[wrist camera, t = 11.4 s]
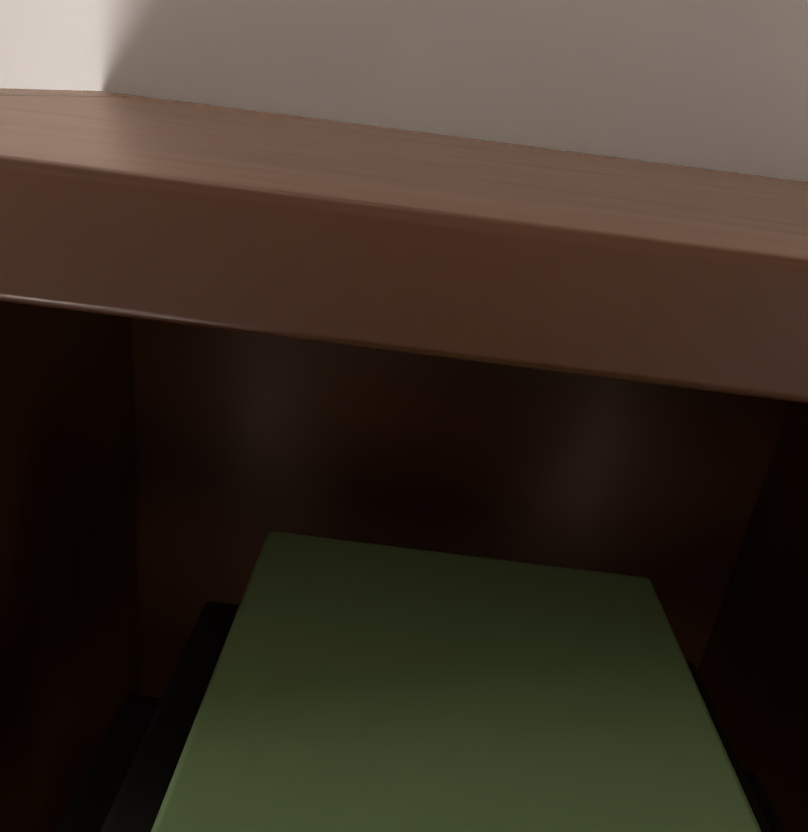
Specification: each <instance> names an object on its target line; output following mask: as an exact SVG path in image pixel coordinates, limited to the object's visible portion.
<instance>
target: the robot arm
mask: <svg viewBox="0 0 808 832" xmlns="http://www.w3.org/2000/svg"><path fill="white" fill-rule="evenodd" d="M238 608H239V605H237V604H229V603H221V602H212V601H208V602H206V604H205V605H204V607H203V609H202V611H201V614H200V616H199V618H198V620H197V622H196V624H195V627H194V629H193V631H192V633H191V635H190V637H189V640H188V642H187V644H186V646H185V648H184V650H183V653H182V655H181V657H180V659H179V661H178V664H177V666H176V668H175V670H174V672H173V674H172V677H171V679H170V681H169V683H168V685H167V687H166V690H165V692H164V694H163V696H162V698H159V697H151V696H143V695H134V694H130V695H129V696H127V697H126V698H125V699H124V701H123V703H122V704H121V706H120V707H119V709H118V711H117V713H116V715H115V717H114V719H113V721H112V722H111V724H110V726H109V728H108V730H107V732H106V734H105V736H104V738H103V740H102V742H101V744H100V745H99V747H98V749H97V751H96V753H95V755H94V757H93V759H92V761H91V763H90V765H89V766H88V768H87V770H86V772H85V774H84V776H83V778H82V780H81V782H80V784H79V786H78V788H77V789H76V791H75V793H74V795H73V797H72V799H71V801H70V803H69V805H68V807H67V809H66V811H65V812H64V814H63V816H62V818H61V820H60V822H59V824H58V826H57V828H56V830H55V832H151V830H152V828H153V825H154V823H155V820H156V818H157V815H158V813H159V810H160V807H161V805H162V802H163V800H164V797H165V795H166V792H167V790H168V787H169V784H170V782H171V779H172V777H173V774H174V772H175V769H176V766H177V764H178V761H179V759H180V756H181V754H182V751H183V749H184V746H185V743H186V741H187V738H188V736H189V733H190V731H191V728H192V726H193V723H194V720H195V718H196V715H197V713H198V710H199V708H200V705H201V703H202V700H203V697H204V695H205V692H206V690H207V687H208V685H209V682H210V679H211V677H212V674H213V672H214V669H215V667H216V664H217V662H218V659H219V656H220V654H221V651H222V649H223V646H224V644H225V641H226V639H227V636H228V633H229V631H230V628H231V626H232V623H233V621H234V618H235V616H236V613H237V610H238ZM686 662H687V665H688V667H689V669H690V671H691V674H692V676H693V678H694V680H695V683H696V685H697V687H698V689H699V692H700V694H701V696H702V698H703V701H704V703H705V705H706V708H707V710H708V712H709V714H710V717H711V719H712V721H713V723H714V726H715V728H716V730H717V732H718V735H719V737H720V739H721V741H722V744H723V746H724V748H725V750H726V753H727V755H728V757H729V759H730V762H731V764H732V766H733V768H734V771H735V773H736V775H737V777H738V780H739V782H740V784H741V786H742V789H743V791H744V793H745V795H746V798H747V800H748V802H749V804H750V807H751V809H752V811H753V814H754V816H755V818H756V820H757V823H758V825H759V827H760V829H761V832H784V829H783V827H782V825H781V823H780V821H779V819H778V817H777V815H776V813H775V810H774V808H773V806H772V804H771V802H770V800H769V798H768V796H767V794H766V791H765V789H764V787H763V785H762V784H761V782H760V781H759V779H758V777H757V776H756V775H755V774H754V773H753V772H751V771H750V770H748V769H742V767H741V765H740V763H739V761H738V758H737V756H736V754H735V752H734V750H733V747H732V745H731V743H730V741H729V739H728V736H727V734H726V732H725V730H724V728H723V725H722V723H721V721H720V719H719V717H718V714H717V712H716V710H715V708H714V706H713V703H712V701H711V699H710V697H709V695H708V692H707V690H706V688H705V686H704V684H703V681H702V679H701V677H700V675H699V673H698V670H697V668H696V667H695V665H694V663H693V662H691V661H690V660H686Z"/></svg>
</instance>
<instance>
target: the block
mask: <svg viewBox="0 0 808 832" xmlns="http://www.w3.org/2000/svg"><path fill="white" fill-rule="evenodd" d="M151 832H761V829H760V827H759V825H758V823H757V820H756V818H755V816H754V814H753V811H752V809H751V807H750V804H749V802H748V800H747V798H746V795H745V793H744V791H743V789H742V786H741V784H740V782H739V780H738V777H737V775H736V773H735V771H734V768H733V766H732V764H731V762H730V759H729V757H728V755H727V753H726V750H725V748H724V746H723V744H722V741H721V739H720V737H719V735H718V732H717V730H716V728H715V726H714V723H713V721H712V719H711V717H710V714H709V712H708V710H707V708H706V705H705V703H704V701H703V698H702V696H701V694H700V692H699V689H698V687H697V685H696V683H695V680H694V678H693V676H692V674H691V671H690V669H689V667H688V665H687V662H686V660H685V658H684V656H683V653H682V651H681V649H680V647H679V644H678V642H677V640H676V638H675V635H674V633H673V631H672V629H671V626H670V624H669V622H668V620H667V617H666V615H665V613H664V611H663V608H662V606H661V604H660V601H659V599H658V597H657V595H656V592H655V590H654V588H653V586H652V583H651V581H650V580H649V579H647V578H645V577H639V576H631V575H623V574H615V573H607V572H599V571H591V570H583V569H575V568H567V567H558V566H550V565H542V564H534V563H526V562H518V561H510V560H502V559H494V558H486V557H478V556H470V555H462V554H454V553H446V552H438V551H429V550H421V549H413V548H405V547H397V546H389V545H381V544H373V543H365V542H357V541H349V540H341V539H333V538H325V537H317V536H309V535H301V534H292V533H284V532H276V531H272V532H269V533H268V535H267V536H266V539H265V541H264V544H263V546H262V549H261V552H260V554H259V557H258V559H257V562H256V564H255V567H254V569H253V572H252V575H251V577H250V580H249V582H248V585H247V587H246V590H245V592H244V595H243V598H242V600H241V603H240V605H239V608H238V610H237V613H236V616H235V618H234V621H233V623H232V626H231V628H230V631H229V633H228V636H227V639H226V641H225V644H224V646H223V649H222V651H221V654H220V656H219V659H218V662H217V664H216V667H215V669H214V672H213V674H212V677H211V679H210V682H209V685H208V687H207V690H206V692H205V695H204V697H203V700H202V703H201V705H200V708H199V710H198V713H197V715H196V718H195V720H194V723H193V726H192V728H191V731H190V733H189V736H188V738H187V741H186V743H185V746H184V749H183V751H182V754H181V756H180V759H179V761H178V764H177V766H176V769H175V772H174V774H173V777H172V779H171V782H170V784H169V787H168V790H167V792H166V795H165V797H164V800H163V802H162V805H161V807H160V810H159V813H158V815H157V818H156V820H155V823H154V825H153V828H152V830H151Z"/></svg>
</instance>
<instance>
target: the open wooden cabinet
mask: <svg viewBox="0 0 808 832" xmlns="http://www.w3.org/2000/svg"><path fill="white" fill-rule="evenodd" d="M272 531H276V532H284V533H292V534H301V535H309V536H317V537H325V538H333V539H341V540H349V541H357V542H365V543H373V544H381V545H389V546H397V547H405V548H413V549H421V550H429V551H438V552H446V553H454V554H462V555H470V556H478V557H486V558H494V559H502V560H510V561H518V562H526V563H534V564H542V565H550V566H558V567H567V568H575V569H583V570H591V571H599V572H607V573H615V574H623V575H631V576H639V577H645V578H647V579H649V580H650V581H651V583H652V586H653V588H654V590H655V592H656V595H657V597H658V599H659V601H660V604H661V606H662V608H663V611H664V613H665V615H666V617H667V620H668V622H669V624H670V626H671V629H672V631H673V633H674V635H675V638H676V640H677V642H678V644H679V647H680V649H681V651H682V653H683V656H684V658H685V660H690V661H691V662H693V663H694V665H695V667H696V668H697V670H698V673H699V675H700V677H701V679H702V681H703V684H704V686H705V688H706V690H707V692H708V695H709V697H710V699H711V701H712V703H713V706H714V708H715V710H716V712H717V714H718V717H719V719H720V721H721V723H722V725H723V728H724V730H725V732H726V734H727V736H728V739H729V741H730V743H731V745H732V747H733V750H734V752H735V754H736V756H737V758H738V761H739V763H740V765H741V767H742V769H748V770H750V771H751V772H753V773H754V774H755V775H756V776H757V777H758V779H759V781H760V782H761V784H762V785H763V787H764V789H765V791H766V794H767V796H768V798H769V800H770V802H771V804H772V806H773V808H774V810H775V813H776V815H777V817H778V819H779V821H780V823H781V825H782V827H783V829H784V832H808V182H801V181H793V180H786V179H778V178H770V177H762V176H755V175H747V174H739V173H731V172H724V171H716V170H708V169H700V168H693V167H685V166H677V165H669V164H662V163H654V162H646V161H638V160H631V159H623V158H615V157H607V156H600V155H592V154H584V153H576V152H569V151H561V150H553V149H545V148H537V147H530V146H522V145H514V144H506V143H499V142H491V141H483V140H475V139H468V138H460V137H452V136H444V135H437V134H429V133H421V132H413V131H406V130H398V129H390V128H382V127H375V126H367V125H359V124H351V123H344V122H336V121H328V120H320V119H313V118H305V117H297V116H289V115H282V114H274V113H266V112H258V111H251V110H243V109H235V108H227V107H220V106H212V105H204V104H196V103H189V102H181V101H173V100H165V99H158V98H150V97H142V96H134V95H127V94H119V93H111V92H103V91H72V90H37V89H1V88H0V832H55V830H56V828H57V826H58V824H59V822H60V820H61V818H62V816H63V814H64V812H65V811H66V809H67V807H68V805H69V803H70V801H71V799H72V797H73V795H74V793H75V791H76V789H77V788H78V786H79V784H80V782H81V780H82V778H83V776H84V774H85V772H86V770H87V768H88V766H89V765H90V763H91V761H92V759H93V757H94V755H95V753H96V751H97V749H98V747H99V745H100V744H101V742H102V740H103V738H104V736H105V734H106V732H107V730H108V728H109V726H110V724H111V722H112V721H113V719H114V717H115V715H116V713H117V711H118V709H119V707H120V706H121V704H122V703H123V701H124V699H125V698H126V697H127V696H129V695H130V694H134V695H143V696H151V697H159V698H162V696H163V694H164V692H165V690H166V687H167V685H168V683H169V681H170V679H171V677H172V674H173V672H174V670H175V668H176V666H177V664H178V661H179V659H180V657H181V655H182V653H183V650H184V648H185V646H186V644H187V642H188V640H189V637H190V635H191V633H192V631H193V629H194V627H195V624H196V622H197V620H198V618H199V616H200V614H201V611H202V609H203V607H204V605H205V604H206V602H208V601H212V602H221V603H229V604H237V605H240V603H241V600H242V598H243V595H244V592H245V590H246V587H247V585H248V582H249V580H250V577H251V575H252V572H253V569H254V567H255V564H256V562H257V559H258V557H259V554H260V552H261V549H262V546H263V544H264V541H265V539H266V536H267V535H268V533H269V532H272Z"/></svg>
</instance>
